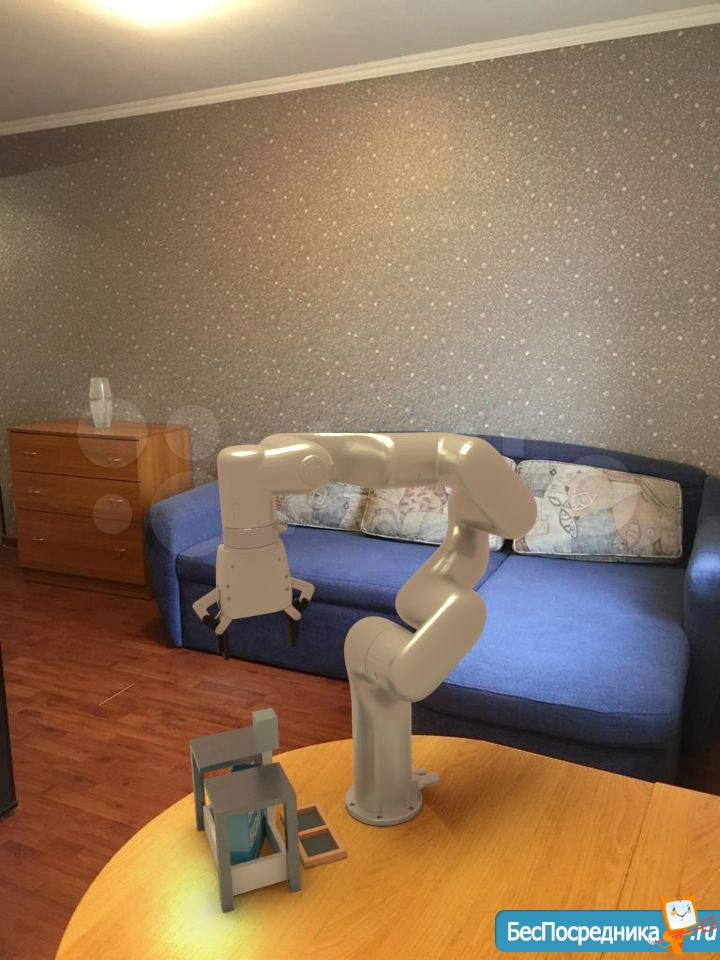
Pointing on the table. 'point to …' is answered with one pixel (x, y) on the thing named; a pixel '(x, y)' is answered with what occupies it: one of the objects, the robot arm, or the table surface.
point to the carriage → (273, 865)
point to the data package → (246, 830)
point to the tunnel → (241, 797)
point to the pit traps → (316, 837)
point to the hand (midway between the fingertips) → (259, 649)
